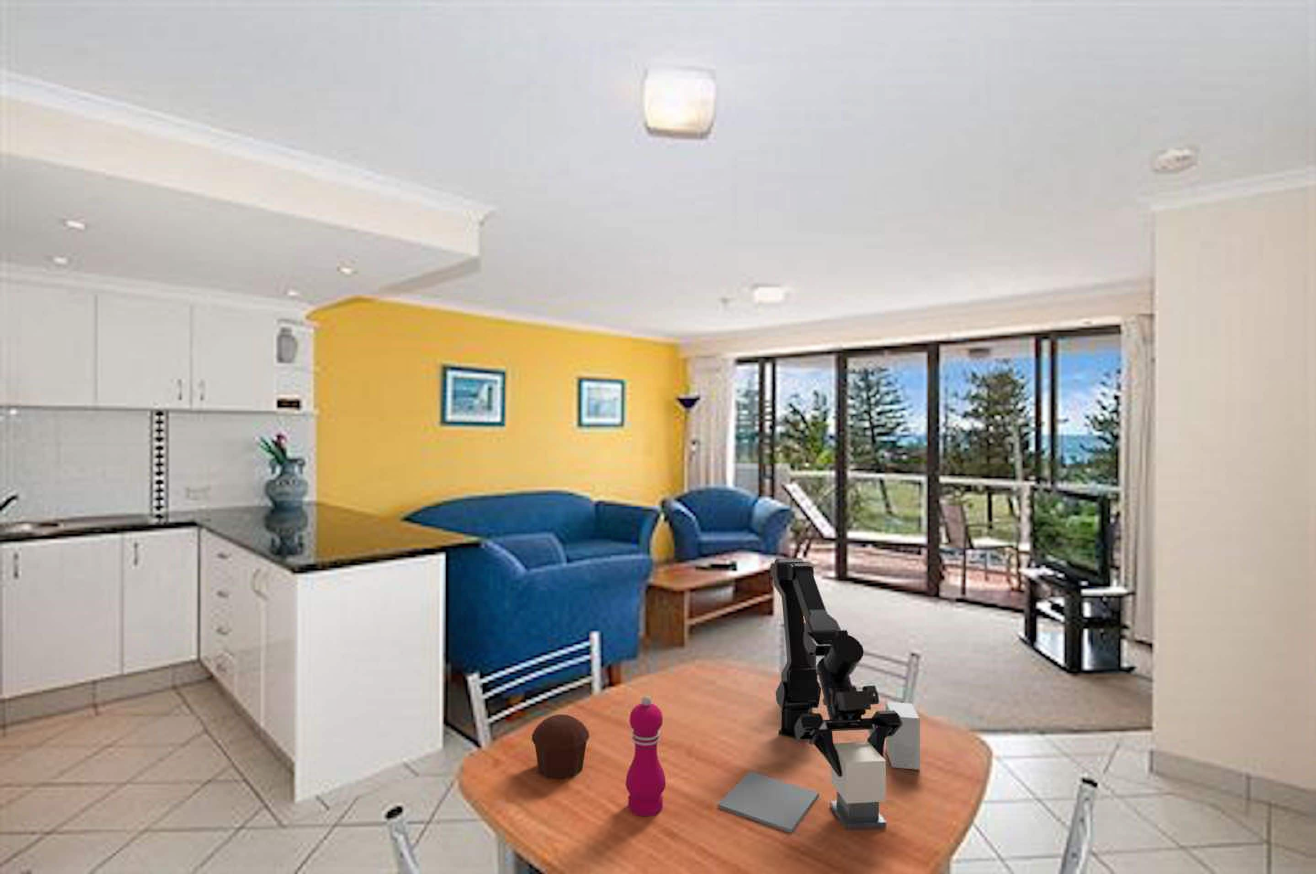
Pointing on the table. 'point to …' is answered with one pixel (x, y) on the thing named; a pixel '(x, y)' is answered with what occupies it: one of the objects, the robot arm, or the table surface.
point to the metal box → (857, 814)
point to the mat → (769, 801)
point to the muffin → (560, 746)
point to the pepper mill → (645, 761)
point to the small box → (904, 738)
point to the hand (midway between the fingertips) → (860, 775)
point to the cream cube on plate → (860, 773)
